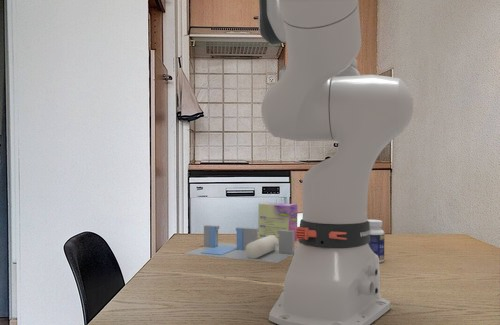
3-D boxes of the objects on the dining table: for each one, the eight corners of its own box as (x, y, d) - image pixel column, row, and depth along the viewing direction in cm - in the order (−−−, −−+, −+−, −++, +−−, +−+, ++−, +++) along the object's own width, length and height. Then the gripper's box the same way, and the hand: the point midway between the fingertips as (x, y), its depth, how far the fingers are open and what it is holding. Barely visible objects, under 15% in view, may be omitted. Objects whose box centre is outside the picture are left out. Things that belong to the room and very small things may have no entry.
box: (297, 243, 136) (297, 203, 136) (288, 246, 131) (288, 205, 131) (267, 240, 142) (267, 202, 142) (258, 243, 137) (257, 203, 137)
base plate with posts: (277, 266, 107) (277, 237, 107) (183, 256, 118) (183, 230, 118) (302, 252, 123) (302, 227, 123) (217, 244, 134) (217, 222, 134)
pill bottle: (385, 264, 109) (385, 222, 109) (360, 263, 110) (360, 221, 110) (383, 258, 114) (383, 219, 114) (359, 258, 116) (359, 218, 115)
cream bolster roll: (260, 259, 110) (260, 243, 110) (245, 258, 112) (245, 241, 112) (278, 250, 121) (278, 235, 121) (264, 249, 123) (264, 234, 123)
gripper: (274, 63, 112) (274, 120, 112) (358, 55, 103) (358, 117, 103) (283, 68, 117) (283, 122, 118) (364, 60, 109) (364, 119, 109)
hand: (319, 119), depth 110 cm, fingers open, 8 cm apart
